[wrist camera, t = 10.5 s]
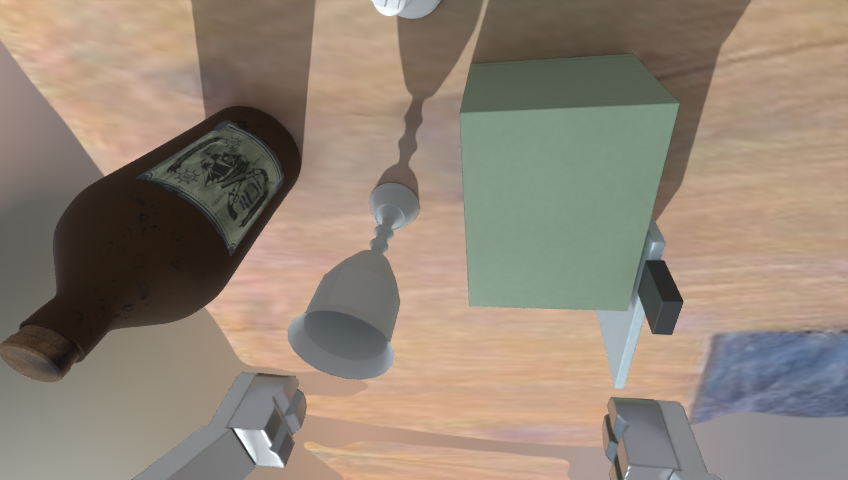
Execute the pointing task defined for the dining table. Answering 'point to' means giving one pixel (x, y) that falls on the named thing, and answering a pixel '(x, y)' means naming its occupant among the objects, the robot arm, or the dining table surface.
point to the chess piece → (406, 7)
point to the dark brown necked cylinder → (157, 237)
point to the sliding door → (641, 308)
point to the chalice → (357, 300)
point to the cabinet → (561, 179)
